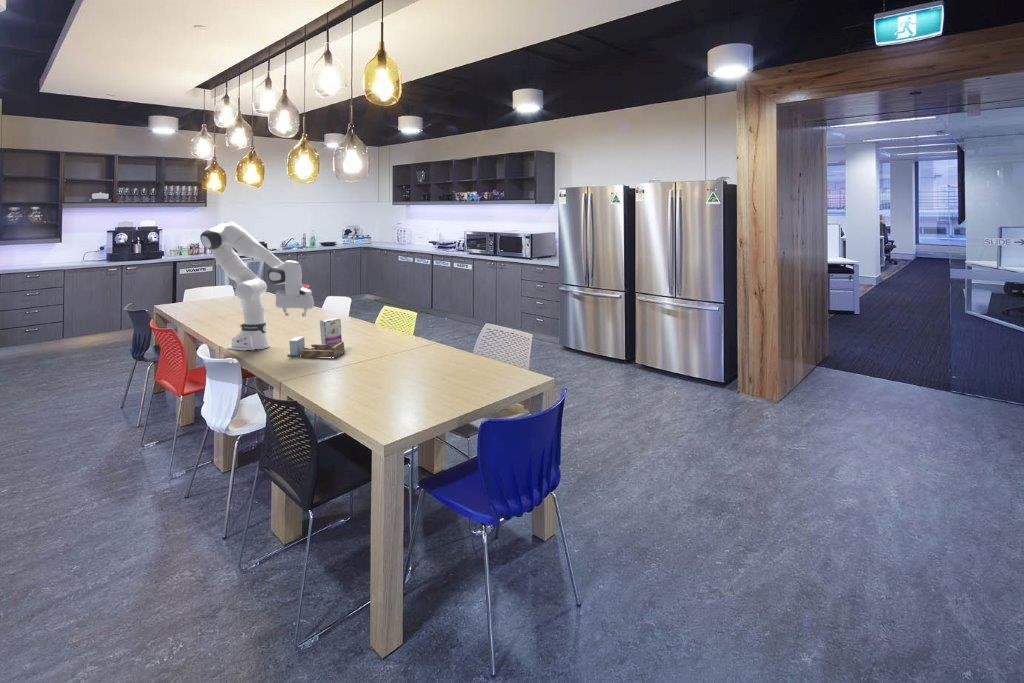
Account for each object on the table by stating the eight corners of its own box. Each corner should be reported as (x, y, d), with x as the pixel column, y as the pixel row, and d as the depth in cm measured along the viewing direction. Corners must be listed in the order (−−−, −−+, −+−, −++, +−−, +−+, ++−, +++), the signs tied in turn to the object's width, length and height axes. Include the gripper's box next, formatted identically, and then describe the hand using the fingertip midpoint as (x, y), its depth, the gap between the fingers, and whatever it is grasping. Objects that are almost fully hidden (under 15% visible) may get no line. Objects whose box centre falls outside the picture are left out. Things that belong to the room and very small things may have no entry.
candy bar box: (337, 344, 345) (335, 317, 342) (342, 346, 342) (341, 318, 339) (320, 348, 336) (319, 320, 333) (326, 349, 333) (324, 321, 330)
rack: (301, 357, 314) (300, 346, 313) (312, 351, 329) (311, 340, 328) (334, 358, 313) (334, 347, 312) (344, 352, 328) (343, 341, 326)
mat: (287, 356, 317) (287, 355, 317) (296, 351, 328) (296, 350, 327) (299, 356, 316) (299, 355, 316) (308, 351, 327) (308, 350, 327)
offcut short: (310, 352, 318) (309, 348, 317) (303, 350, 321) (303, 347, 321) (314, 351, 320) (314, 347, 320) (308, 349, 324) (307, 346, 323)
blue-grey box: (290, 354, 317) (289, 340, 316) (298, 350, 327) (297, 336, 325) (297, 355, 317) (296, 340, 315) (305, 350, 327) (304, 336, 325)
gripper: (272, 291, 312) (274, 316, 315) (309, 292, 311) (311, 317, 314) (278, 289, 319) (279, 314, 322) (314, 290, 317) (315, 315, 320)
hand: (295, 316), depth 318 cm, fingers open, 8 cm apart
